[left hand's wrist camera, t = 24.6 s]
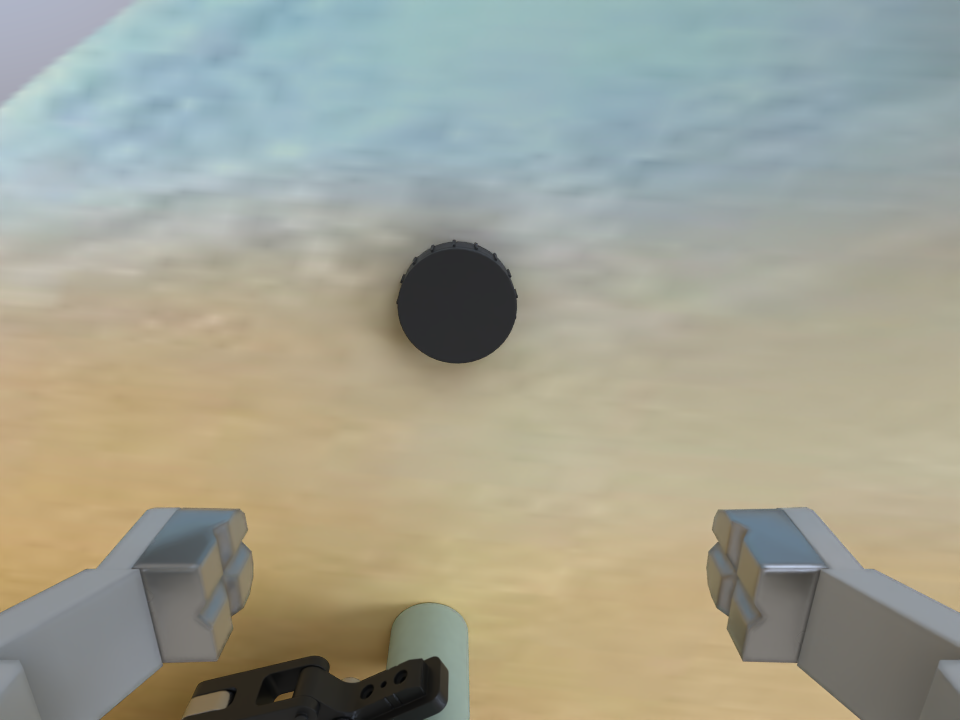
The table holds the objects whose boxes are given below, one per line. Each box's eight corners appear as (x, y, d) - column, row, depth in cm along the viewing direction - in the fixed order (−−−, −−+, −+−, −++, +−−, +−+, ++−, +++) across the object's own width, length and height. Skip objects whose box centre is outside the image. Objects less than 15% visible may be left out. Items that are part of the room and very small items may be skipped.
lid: (505, 358, 27) (508, 372, 25) (394, 344, 26) (390, 358, 25) (524, 248, 25) (528, 256, 24) (405, 232, 25) (401, 239, 23)
